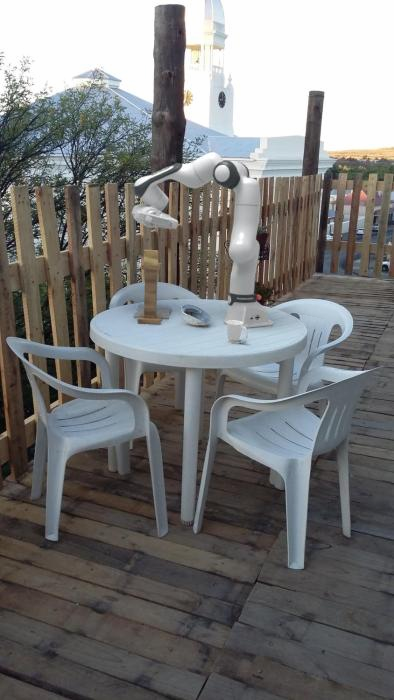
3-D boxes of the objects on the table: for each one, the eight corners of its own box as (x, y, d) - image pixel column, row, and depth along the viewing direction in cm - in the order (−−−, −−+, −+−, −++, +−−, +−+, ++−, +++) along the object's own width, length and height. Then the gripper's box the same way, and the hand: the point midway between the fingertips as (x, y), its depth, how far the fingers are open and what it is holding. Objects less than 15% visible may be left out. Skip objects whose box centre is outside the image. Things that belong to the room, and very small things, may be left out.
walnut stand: (140, 318, 263) (141, 261, 255) (162, 319, 263) (163, 262, 255) (137, 323, 253) (138, 264, 246) (160, 324, 253) (161, 266, 246)
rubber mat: (139, 307, 285) (139, 306, 285) (171, 308, 285) (171, 307, 285) (134, 317, 264) (134, 316, 264) (168, 319, 264) (168, 318, 264)
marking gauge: (147, 259, 263) (147, 246, 261) (160, 260, 263) (160, 246, 261) (143, 264, 247) (143, 250, 246) (157, 265, 247) (157, 251, 246)
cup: (232, 338, 237) (233, 319, 235) (251, 343, 231) (253, 324, 228) (221, 341, 232) (222, 321, 229) (241, 346, 226) (242, 326, 223)
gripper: (131, 205, 254) (142, 209, 242) (172, 215, 264) (184, 220, 253) (128, 219, 256) (138, 224, 244) (168, 229, 266) (180, 234, 254)
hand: (162, 222), depth 248 cm, fingers open, 8 cm apart
